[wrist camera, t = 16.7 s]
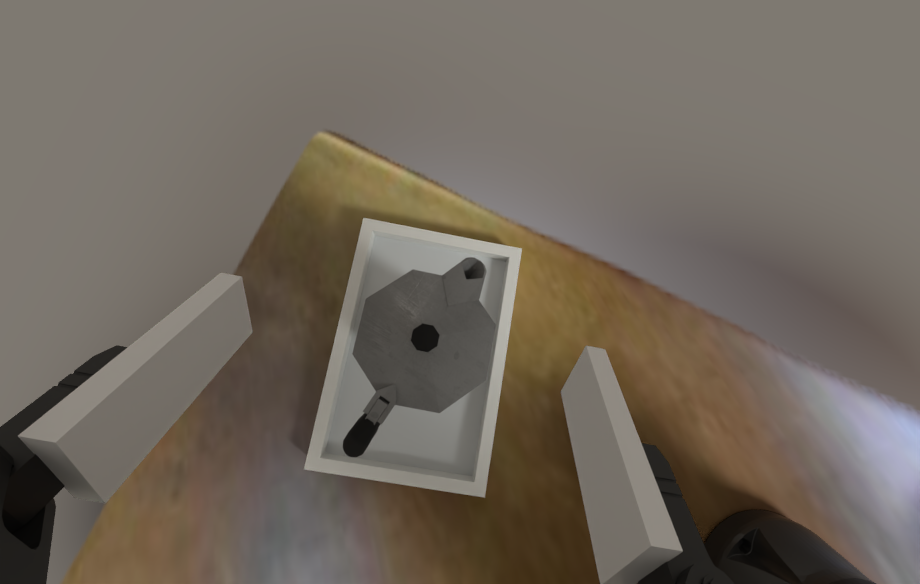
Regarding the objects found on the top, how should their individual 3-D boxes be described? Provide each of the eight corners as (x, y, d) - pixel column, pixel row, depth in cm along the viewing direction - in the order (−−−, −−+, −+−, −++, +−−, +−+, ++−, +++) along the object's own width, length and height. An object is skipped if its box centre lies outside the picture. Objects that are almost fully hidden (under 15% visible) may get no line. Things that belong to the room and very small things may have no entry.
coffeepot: (426, 269, 39) (422, 201, 21) (496, 316, 38) (553, 288, 21) (340, 389, 36) (253, 429, 18) (416, 441, 36) (403, 532, 18)
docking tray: (516, 254, 41) (521, 248, 38) (481, 487, 36) (484, 497, 34) (367, 225, 40) (363, 217, 37) (312, 461, 35) (303, 469, 33)
